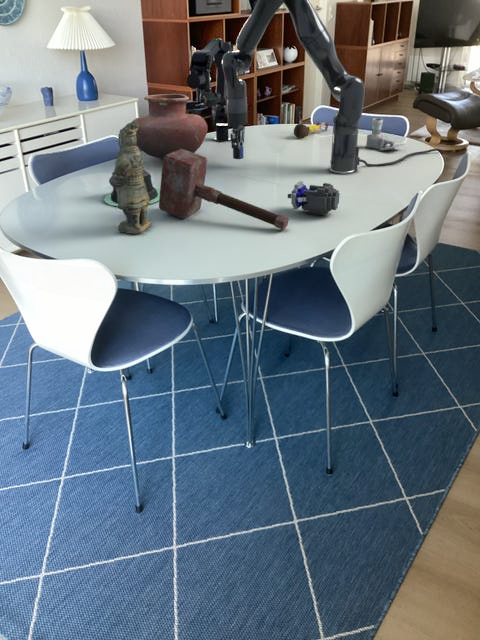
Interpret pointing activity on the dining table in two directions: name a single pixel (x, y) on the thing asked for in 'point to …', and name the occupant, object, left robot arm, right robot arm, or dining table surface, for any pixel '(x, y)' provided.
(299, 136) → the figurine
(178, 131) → the clay pot
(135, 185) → the statue
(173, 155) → the sledgehammer
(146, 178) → the chocolate cake
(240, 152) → the canister
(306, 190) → the toy
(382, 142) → the grey boot
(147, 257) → the dining table surface
